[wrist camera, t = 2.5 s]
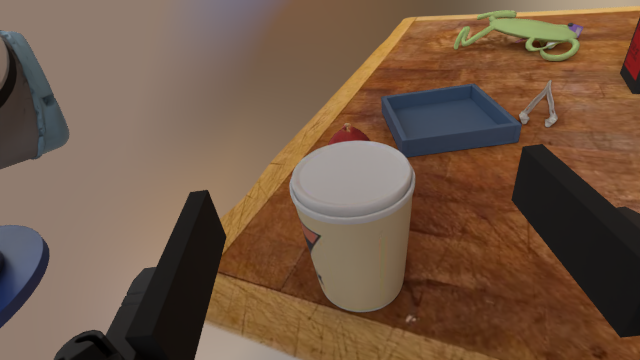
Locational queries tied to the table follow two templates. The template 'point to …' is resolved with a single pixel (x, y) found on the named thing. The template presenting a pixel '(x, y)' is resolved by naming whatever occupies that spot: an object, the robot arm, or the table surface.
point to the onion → (348, 135)
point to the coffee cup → (356, 220)
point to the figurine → (527, 33)
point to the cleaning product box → (633, 63)
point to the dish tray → (447, 120)
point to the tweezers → (547, 89)
